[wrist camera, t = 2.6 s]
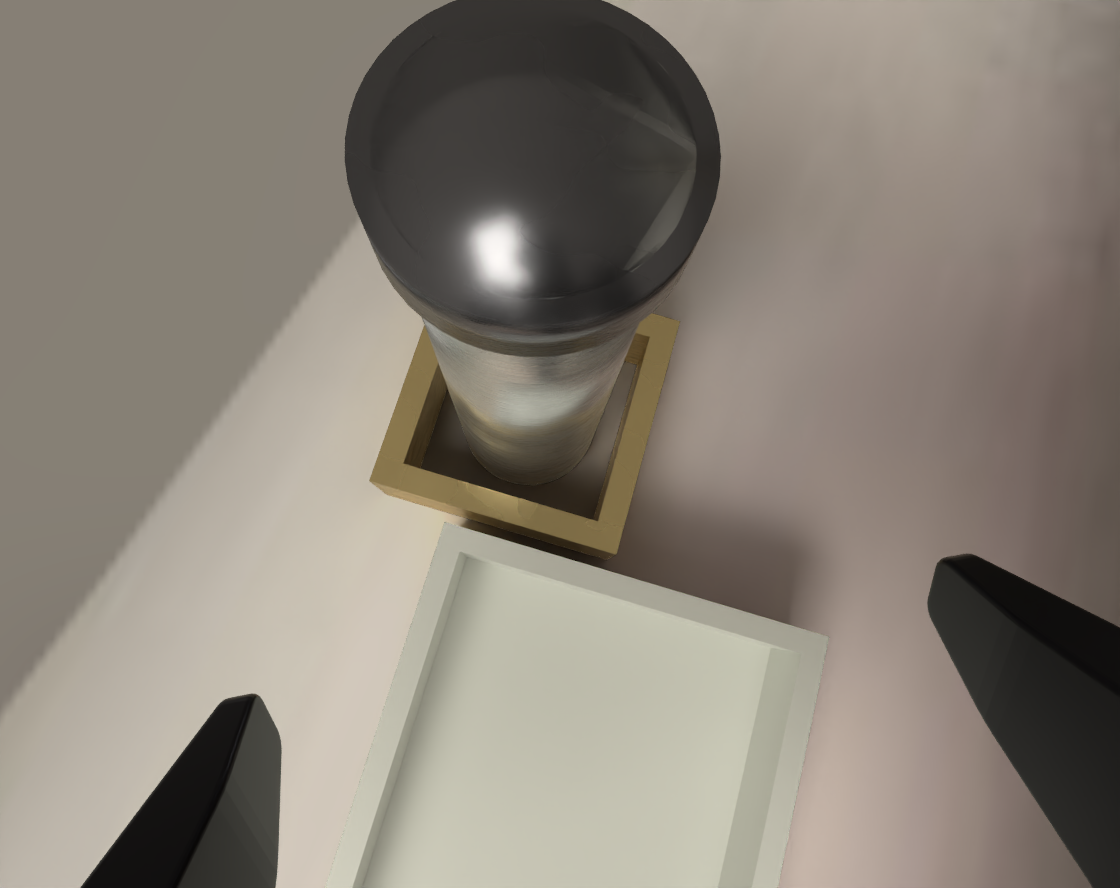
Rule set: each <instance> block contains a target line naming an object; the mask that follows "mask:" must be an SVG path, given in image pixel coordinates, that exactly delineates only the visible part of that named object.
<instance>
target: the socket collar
mask: <svg viewBox="0 0 1120 888" xmlns="http://www.w3.org/2000/svg"><path fill="white" fill-rule="evenodd" d="M679 323H680V321H677V320H674V319H670V318H667V317H663V316H660V315H656V314H653V313H651V314H650V315H649V316H648V317H646V318H645V319H644V320H643V321H641V322H640V323H639V325H638V328H637V330H636V333H635V335H634V338H633V340H632V343H631V345H630V348H629V350H628V353H627V355H626V357H625V360H624V361H626V362H629V363H633V364H636V365H637V366H636V370H635V373H634V377H633V380H632V384H631V387H630V391H629V394H628V398H627V402H626V405H625V409H624V412H623V416H622V419H621V423H620V426H619V430H618V433H617V437H616V440H615V444H614V447H613V451H612V455H611V458H610V462H609V465H608V469H607V472H606V476H605V479H604V483H603V486H602V490H601V493H600V497H599V500H598V504H597V508H596V511H595V515H594V518H593V520H591V519H588V518H585V517H581V516H578V515H575V514H571V513H568V512H565V511H561V510H558V509H554V508H551V507H548V506H544V505H541V504H538V503H534V502H531V501H528V500H524V499H521V498H517V497H514V496H511V495H507V494H504V493H501V492H497V491H494V490H491V489H487V488H484V487H480V486H477V485H474V484H470V483H467V482H464V481H460V480H457V479H454V478H450V477H447V476H443V475H440V474H437V473H433V472H430V471H427V470H423V469H420V468H421V465H422V462H423V459H424V456H425V453H426V450H427V447H428V444H429V441H430V438H431V435H432V432H433V429H434V426H435V423H436V421H437V418H438V415H439V412H440V409H441V406H442V403H443V400H444V397H445V394H446V391H447V385H446V382H445V379H444V377H443V374H442V371H441V368H440V366H439V363H438V360H437V357H436V355H435V352H434V349H433V346H432V344H431V341H430V338H429V335H428V333H427V330H426V327H425V325H424V328H423V331H422V333H421V336H420V339H419V342H418V345H417V348H416V350H415V353H414V356H413V359H412V362H411V365H410V367H409V370H408V373H407V376H406V379H405V382H404V384H403V387H402V390H401V393H400V396H399V398H398V401H397V404H396V407H395V410H394V413H393V415H392V418H391V421H390V424H389V427H388V430H387V432H386V435H385V438H384V441H383V444H382V446H381V449H380V452H379V455H378V458H377V461H376V463H375V466H374V469H373V472H372V475H371V478H370V480H369V481H370V482H371V483H373V484H374V485H375V486H376V487H378V488H379V489H380V490H382V491H383V492H384V493H385V494H387V495H390V496H393V497H397V498H400V499H403V500H407V501H410V502H414V503H417V504H420V505H424V506H427V507H430V508H434V509H437V510H440V511H444V512H447V513H450V514H454V515H457V516H461V517H464V518H467V519H471V520H474V521H477V522H481V523H484V524H487V525H491V526H494V527H497V528H501V529H504V530H507V531H511V532H514V533H518V534H521V535H524V536H528V537H531V538H534V539H538V540H541V541H544V542H548V543H551V544H554V545H558V546H561V547H564V548H568V549H571V550H575V551H578V552H581V553H585V554H588V555H591V556H595V557H598V558H601V559H605V560H607V559H609V558H611V557H613V556H615V555H616V554H617V550H618V547H619V543H620V539H621V536H622V532H623V528H624V525H625V521H626V517H627V514H628V510H629V506H630V503H631V499H632V495H633V492H634V488H635V485H636V481H637V477H638V474H639V470H640V466H641V463H642V459H643V455H644V452H645V448H646V444H647V441H648V437H649V433H650V430H651V426H652V422H653V419H654V415H655V411H656V408H657V404H658V400H659V397H660V393H661V389H662V386H663V382H664V378H665V375H666V371H667V367H668V364H669V360H670V356H671V353H672V349H673V345H674V342H675V338H676V334H677V331H678V327H679Z"/></svg>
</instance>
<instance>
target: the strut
mask: <svg viewBox="0 0 1120 888" xmlns="http://www.w3.org/2000/svg"><path fill="white" fill-rule="evenodd" d="M720 161H721V153H720V143H719V133H718V129H717V125H716V121H715V117H714V113H713V110H712V108H711V105H710V103H709V100H708V97H707V95H706V92H705V91H704V89H703V87H702V85H701V83H700V82H699V80H698V78H697V76H696V75H695V73H694V72H693V70H692V69H691V68H690V66H689V65H688V64H687V62H686V61H685V59H684V58H683V57H682V55H681V54H680V53H679V52H678V51H677V50H676V49H675V48H674V47H673V46H672V45H671V44H670V43H669V42H668V41H667V40H666V39H665V38H664V37H663V36H661V35H660V34H659V33H658V32H656V31H655V30H654V29H653V28H651V27H650V26H649V25H648V24H646V23H644V22H643V21H641V20H640V19H638V18H637V17H635V16H633V15H632V14H630V13H628V12H626V11H624V10H622V9H620V8H618V7H616V6H614V5H612V4H610V3H608V2H605V1H602V0H456V1H453V2H450V3H448V4H446V5H444V6H442V7H440V8H438V9H436V10H434V11H432V12H430V13H428V14H427V15H425V16H424V17H422V18H421V19H419V20H418V21H416V22H414V23H413V24H411V25H410V26H409V27H407V28H406V29H405V30H404V31H403V32H402V33H401V34H399V36H397V37H396V38H395V39H393V40H392V42H391V43H390V44H389V45H388V46H387V47H386V48H385V49H384V50H383V52H382V53H381V54H380V55H379V56H378V57H377V59H376V60H375V62H374V63H373V65H372V66H371V68H370V69H369V71H368V72H367V74H366V75H365V77H364V79H363V81H362V83H361V85H360V87H359V89H358V91H357V93H356V96H355V99H354V102H353V105H352V108H351V111H350V114H349V119H348V125H347V131H346V136H345V165H346V172H347V180H348V185H349V188H350V192H351V196H352V199H353V203H354V205H355V208H356V210H357V212H358V215H359V217H360V219H361V222H362V224H363V226H364V229H365V231H366V233H367V236H368V238H369V240H370V243H371V245H372V247H373V250H374V252H375V254H376V256H377V259H378V261H379V263H380V265H381V268H382V270H383V271H384V273H385V275H386V276H387V278H388V279H389V281H390V283H391V284H392V286H393V287H394V289H395V290H396V291H397V292H398V293H399V295H400V296H401V297H402V298H403V299H404V301H405V302H406V303H407V304H408V305H409V306H410V307H411V308H412V309H413V310H414V311H416V312H417V313H418V314H419V315H420V316H421V317H422V319H423V322H424V324H425V327H426V330H427V333H428V335H429V338H430V341H431V344H432V346H433V349H434V352H435V355H436V357H437V360H438V363H439V366H440V368H441V371H442V374H443V377H444V379H445V382H446V385H447V388H448V391H449V393H450V396H451V399H452V402H453V404H454V407H455V410H456V413H457V415H458V418H459V421H460V424H461V426H462V429H463V432H464V435H465V437H466V440H467V443H468V445H469V447H470V450H471V452H472V453H473V455H474V456H475V458H476V459H477V460H478V462H479V463H480V464H481V465H482V466H483V467H484V468H485V469H486V470H487V471H489V472H490V473H492V474H493V475H494V476H496V477H498V478H500V479H502V480H505V481H507V482H510V483H515V484H520V485H538V484H544V483H548V482H551V481H554V480H556V479H558V478H560V477H562V476H564V475H565V474H567V473H568V472H570V471H571V470H572V469H573V468H575V466H576V465H577V464H578V463H579V462H580V461H581V460H582V458H583V457H584V455H585V454H586V452H587V450H588V448H589V446H590V444H591V441H592V439H593V436H594V434H595V431H596V429H597V426H598V424H599V421H600V419H601V417H602V414H603V412H604V409H605V407H606V404H607V402H608V399H609V397H610V394H611V392H612V389H613V387H614V385H615V382H616V380H617V377H618V375H619V372H620V370H621V367H622V365H623V362H624V360H625V357H626V355H627V353H628V350H629V348H630V345H631V343H632V340H633V338H634V335H635V333H636V330H637V328H638V325H639V323H640V322H641V321H643V320H644V319H645V318H646V317H648V316H649V315H650V314H651V313H652V312H653V311H654V310H655V309H656V308H657V307H658V306H659V305H660V304H661V303H662V302H663V301H664V300H665V299H666V297H667V296H668V295H669V293H670V292H671V290H672V289H673V288H674V286H675V285H676V284H677V282H678V280H679V278H680V277H681V275H682V273H683V271H684V269H685V267H686V265H687V263H688V261H689V259H690V257H691V255H692V253H693V250H694V248H695V246H696V244H697V242H698V240H699V238H700V236H701V234H702V232H703V229H704V227H705V225H706V223H707V221H708V219H709V216H710V213H711V210H712V207H713V204H714V202H715V199H716V194H717V189H718V183H719V178H720Z"/></svg>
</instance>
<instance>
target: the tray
mask: <svg viewBox="0 0 1120 888" xmlns="http://www.w3.org/2000/svg"><path fill="white" fill-rule="evenodd" d="M828 641H829V636H825V635H822V634H819V633H815V632H812V631H809V630H805V629H802V628H798V627H795V626H792V625H788V624H785V623H782V622H778V621H775V620H772V619H768V618H765V617H762V616H758V615H755V614H752V613H748V612H745V611H741V610H738V609H735V608H731V607H728V606H725V605H721V604H718V603H715V602H711V601H708V600H705V599H701V598H698V597H695V596H691V595H688V594H685V593H681V592H678V591H674V590H671V589H668V588H664V587H661V586H658V585H654V584H651V583H648V582H644V581H641V580H638V579H634V578H631V577H628V576H624V575H621V574H617V573H614V572H611V571H607V570H604V569H601V568H597V567H594V566H591V565H587V564H584V563H581V562H577V561H574V560H571V559H567V558H564V557H561V556H557V555H554V554H550V553H547V552H544V551H540V550H537V549H534V548H530V547H527V546H524V545H520V544H517V543H514V542H510V541H507V540H504V539H500V538H497V537H493V536H490V535H487V534H483V533H480V532H477V531H473V530H470V529H467V528H463V527H460V526H457V525H453V524H450V523H447V522H444V525H443V528H442V531H441V534H440V537H439V540H438V544H437V547H436V550H435V553H434V556H433V559H432V562H431V565H430V568H429V571H428V574H427V577H426V580H425V583H424V586H423V589H422V592H421V596H420V599H419V602H418V605H417V608H416V611H415V614H414V617H413V620H412V623H411V626H410V629H409V632H408V635H407V638H406V641H405V644H404V647H403V651H402V654H401V657H400V660H399V663H398V666H397V669H396V672H395V675H394V678H393V681H392V684H391V687H390V690H389V693H388V696H387V699H386V702H385V706H384V709H383V712H382V715H381V718H380V721H379V724H378V727H377V730H376V733H375V736H374V739H373V742H372V745H371V748H370V751H369V754H368V757H367V761H366V764H365V767H364V770H363V773H362V776H361V779H360V782H359V785H358V788H357V791H356V794H355V797H354V800H353V803H352V806H351V809H350V813H349V816H348V819H347V822H346V825H345V828H344V831H343V834H342V837H341V840H340V843H339V846H338V849H337V852H336V855H335V858H334V861H333V864H332V868H331V871H330V874H329V877H328V880H327V883H326V886H325V888H778V885H779V880H780V875H781V870H782V865H783V860H784V855H785V850H786V846H787V841H788V836H789V831H790V826H791V821H792V816H793V811H794V807H795V802H796V797H797V792H798V787H799V782H800V777H801V773H802V768H803V763H804V758H805V753H806V748H807V743H808V738H809V734H810V729H811V724H812V719H813V714H814V709H815V704H816V699H817V695H818V690H819V685H820V680H821V675H822V670H823V665H824V660H825V656H826V651H827V646H828Z"/></svg>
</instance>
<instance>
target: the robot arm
mask: <svg viewBox="0 0 1120 888" xmlns="http://www.w3.org/2000/svg"><path fill="white" fill-rule="evenodd" d="M928 612H929V615H930V618H931V620H932V622H933V624H934V626H935V628H936V630H937V632H938V634H939V636H940V637H941V639H942V641H943V643H944V645H945V647H946V649H947V651H948V653H949V655H950V657H951V659H952V661H953V663H954V665H955V667H956V668H957V670H958V672H959V674H960V676H961V678H962V680H963V682H964V684H965V686H966V688H967V690H968V692H969V694H970V696H971V697H972V699H973V701H974V703H975V705H976V707H977V709H978V710H979V712H980V714H981V716H982V718H983V719H984V721H985V723H986V724H987V726H988V728H989V729H990V731H991V732H992V734H993V736H994V737H995V739H996V740H997V742H998V743H999V745H1000V746H1001V748H1002V749H1003V751H1004V753H1005V754H1006V756H1007V757H1008V759H1009V760H1010V762H1011V763H1012V765H1013V766H1014V768H1015V769H1016V771H1017V772H1018V774H1019V775H1020V777H1021V779H1022V780H1023V782H1024V783H1025V785H1026V786H1027V788H1028V789H1029V791H1030V792H1031V794H1032V795H1033V797H1034V798H1035V800H1036V802H1037V803H1038V805H1039V806H1040V808H1041V809H1042V811H1043V812H1044V814H1045V815H1046V817H1047V818H1048V820H1049V821H1050V823H1051V824H1052V826H1053V828H1054V829H1055V831H1056V832H1057V834H1058V835H1059V837H1060V838H1061V840H1062V841H1063V843H1064V844H1065V846H1066V847H1067V849H1068V851H1069V852H1070V854H1071V855H1072V857H1073V858H1074V860H1075V861H1076V863H1077V864H1078V866H1079V867H1080V869H1081V870H1082V872H1083V873H1084V875H1085V877H1086V878H1087V880H1088V881H1089V883H1090V884H1091V886H1092V887H1093V888H1120V627H1118V626H1116V625H1114V624H1112V623H1110V622H1108V621H1106V620H1104V619H1102V618H1100V617H1098V616H1096V615H1094V614H1092V613H1090V612H1088V611H1086V610H1084V609H1082V608H1080V607H1078V606H1076V605H1074V604H1072V603H1070V602H1068V601H1066V600H1064V599H1062V598H1060V597H1058V596H1056V595H1054V594H1052V593H1050V592H1048V591H1046V590H1044V589H1042V588H1040V587H1038V586H1036V585H1034V584H1032V583H1030V582H1028V581H1026V580H1024V579H1022V578H1020V577H1018V576H1016V575H1014V574H1012V573H1010V572H1008V571H1006V570H1004V569H1002V568H1000V567H998V566H996V565H994V564H992V563H990V562H988V561H986V560H984V559H982V558H980V557H978V556H976V555H973V554H961V555H956V556H951V557H946V558H943V559H941V560H940V561H939V562H938V563H937V565H936V568H935V572H934V576H933V580H932V584H931V588H930V592H929V596H928ZM280 782H281V740H280V735H279V732H278V730H277V728H276V726H275V724H274V722H273V720H272V718H271V716H270V714H269V712H268V710H267V708H266V706H265V704H264V702H263V700H262V699H261V697H260V696H258V695H257V694H247V695H242V696H237V697H232V698H228V699H225V700H223V701H222V702H221V703H220V704H219V705H218V706H217V707H216V709H215V710H214V711H213V713H212V714H211V715H210V717H209V718H208V719H207V721H206V722H205V723H204V725H203V726H202V727H201V729H200V730H199V731H198V733H197V734H196V735H195V737H194V738H193V739H192V740H191V742H190V743H189V744H188V746H187V747H186V748H185V750H184V751H183V752H182V754H181V755H180V756H179V758H178V759H177V760H176V762H175V763H174V764H173V766H172V767H171V768H170V770H169V771H168V772H167V774H166V775H165V776H164V778H163V779H162V780H161V782H160V783H159V784H158V786H157V787H156V788H155V790H154V791H153V792H152V793H151V795H150V796H149V797H148V799H147V800H146V801H145V803H144V804H143V805H142V807H141V808H140V809H139V811H138V812H137V813H136V815H135V816H134V817H133V819H132V820H131V821H130V823H129V824H128V825H127V827H126V828H125V829H124V831H123V832H122V833H121V835H120V836H119V837H118V839H117V840H116V841H115V843H114V844H113V845H112V846H111V848H110V849H109V850H108V852H107V853H106V854H105V856H104V857H103V858H102V860H101V861H100V862H99V864H98V865H97V866H96V868H95V869H94V870H93V872H92V873H91V874H90V876H89V877H88V878H87V880H86V881H85V882H84V884H83V885H82V886H81V888H275V886H276V878H277V865H278V843H279V813H280Z"/></svg>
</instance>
